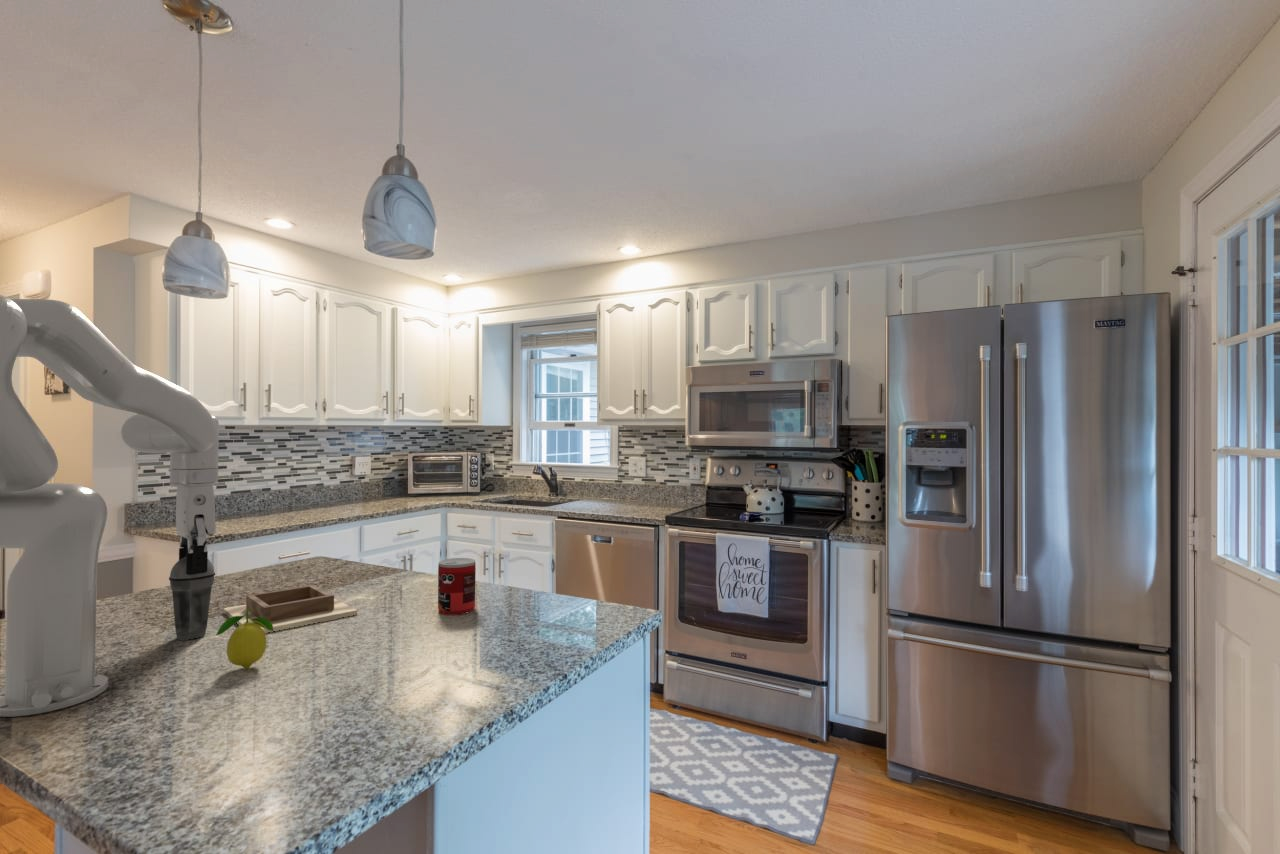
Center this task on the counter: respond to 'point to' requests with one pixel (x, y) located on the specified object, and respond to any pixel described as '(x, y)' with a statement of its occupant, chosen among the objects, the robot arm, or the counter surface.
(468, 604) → the canned food
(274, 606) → the cup holder
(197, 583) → the beverage cup
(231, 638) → the lemon
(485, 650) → the counter surface
